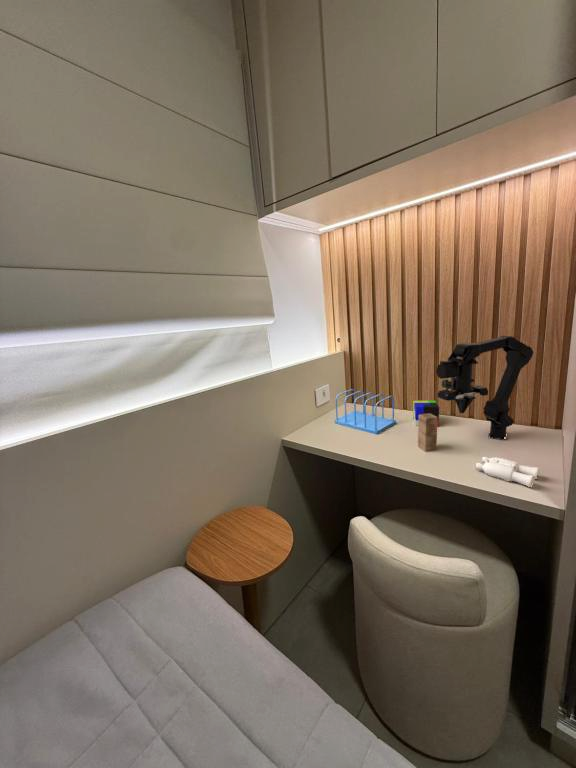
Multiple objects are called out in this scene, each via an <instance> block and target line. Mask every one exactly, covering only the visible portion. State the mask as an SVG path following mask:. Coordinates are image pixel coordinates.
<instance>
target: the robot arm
mask: <svg viewBox="0 0 576 768" xmlns="http://www.w3.org/2000/svg"><path fill="white" fill-rule="evenodd" d="M499 349H502V351H503V352H504V353H505V362H506V366H505V367H506V368H505V370H504V372H503V374H502V377H501V380H500V382H499V384H498V387H497V389H496V393H495V394H494V397H493V398H492V399H491V400H488V399H487V400H486V401H485V405H484V407H483V409H482V410H483V414H484V416H485V419H486V421H487V422H490V428H489V431H490V433H488V436H487V437H488V438H489V436H490V437H493V438H492V439H495V438H500V439H499V440H502V439H504V437H506V434H507V427H510V426H512V425H513V424H514V422H515V421H514V419H513V418H512V417H511V416H510V414H509V413H510V406H509V400H510V398H511V395H512V392H513V390H514V388H515V385H516V382H517V380H518V378H519V375H520V372H521V370H522V369H523V368H524V367H525V366H526V365H528V364H529V362H530V361H531V359H532V358H533V354H534V351H533V348H532V347H531V346H529V345H527V344H525V343H524V342H522V341H520V340H518V339H517V338H515V337H514V336H513V335H512V336H511V335H501V336H499V337H495V338H490V339H487V340H482V341H479V342H465V343H464V342H463V343H461V342H460V343H457V344H456V345H455V347H454V349H453V351H452V352H451V354H450V356H449V357H448V358H447V360H440V362H439V364H438V365H437V367H436V371H435V372H436V375H437V377H438V378H439V379H440V380H441V387H442V389H443V388H444V389H443V390H439V391H438V392H437V398H439V399H442V400H444V401H447V402H448V401H454V402H455V404H456V406H457V409H458V412H459V414H465V412H466V411H467V409H468V407H469V406H470V405H471V404H472V402H473V401H474V400H475V399H476V396H474V394H479V395H480V396H488V395H489V390H488V388H487V387H484V386H481V385H472V383H473V382H475V379H474V378H473V367H474V366H473V365H478V363H479V362H478V361H477V360H476V358H479V356H480V355H482V354H483V353H488V352H491V351H496V350H499ZM450 378H451V379H452V380H451V381H449V379H450ZM442 379H443V380H442Z"/></svg>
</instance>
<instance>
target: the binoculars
mask: <svg viewBox="0 0 576 768" xmlns="http://www.w3.org/2000/svg"><path fill="white" fill-rule="evenodd" d="M481 459H482V460H481V463H480V462H476V464H475V465H476V466H475V468H476V469H475V470H479V471H483V472H484V474H486V475H487V474H488V475H487V476H489V475H491V476H490V477H492V476H494V477H493V478H495V477H497V478H496V479H498V478H501V479H504V480H503V481H505V480H508V481H511V482H516V483H519V484H520V485H523V486H525V485H526V487H527V486H528V487H527V488H529V487H531V485H532V483H534V484H535V479H537V480H538V478H537V475H538V476H539V471H540V467H538V466H535V467H534V466H527V465H522V464H520V463H519V462H517V461H513V460H510V459H506V458H502V457H490V458H489V457H486V456H483V457H482V458H481ZM501 479H500V480H501ZM508 481H507V482H508Z"/></svg>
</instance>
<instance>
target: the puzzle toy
mask: <svg viewBox="0 0 576 768" xmlns="http://www.w3.org/2000/svg"><path fill="white" fill-rule="evenodd" d="M412 408H413V409H412V421H413V420H414V421H413V423H414V425H415V428H418V420H419V415H421V414H428V413H430V414H432V415H434V416H436V417H438V420H437V428H439V424H440V423H439V420H440V419H439V418H440V406H439V404H438V402H437V401H436V400H413V404H412Z"/></svg>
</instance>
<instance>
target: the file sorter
mask: <svg viewBox="0 0 576 768" xmlns="http://www.w3.org/2000/svg"><path fill="white" fill-rule="evenodd" d="M352 391H353V393H351V394H349V395H346V396H345V399H344V415H342V416H340V417H338V398H339V396H340V395H343V394H345V393H349V392H352ZM358 393H362V395H360V396H358V397H356V394H358ZM367 395H371V397H370V398H368V399H366V400H365V396H367ZM352 396H353V408H354V409H353V411H351V412H348V413H347V399H348V398H350V397H352ZM380 396H381V400H379V401H378V402H376V404H375V407H374V400H375V398H377V397H380ZM361 398H362V407H363V408H362V411H357V410H356V402H357V400H359V399H361ZM390 398H391V399H392V400H391V401H392V419H391V418H388V417H385V416H384V415H385V414H384V401H386V400H388V399H390ZM369 401H372V402H371V404H372V405H371V406H372V407H371V408H372V410H371V411H372V414H370V413H367V411H366V409H367V408H366V406H367V403H368V402H369ZM380 403H381V409H382V410H381V412H382V413H381V416H380V415H377V407H378V404H380ZM335 414H336V417H335V418H336V419H334V423H335V424H339V425H341V426H344V427H345V426H346V427H349V428H352V429H356V430H358V431H359V430H360V431H363V432H366V433H370V434H373V435H379V434H380V433H382V432H383V431H385V430H386V429H388V428H390V427H392V426H393V425H396V424H397V422H396V421H397V420H395V399H394V396H393V395H389V396H387V397H385V398H384V395H383V394H382V393H379V394H377V395H374V394H373V392H371V391H369V392H368V393H365V392H364V391H363V390H358V391H355V389H354V388H351V389H350V388H349V389H348V390H344V391H343V392H341V393H338V394H337V395H336V397H335Z"/></svg>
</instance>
